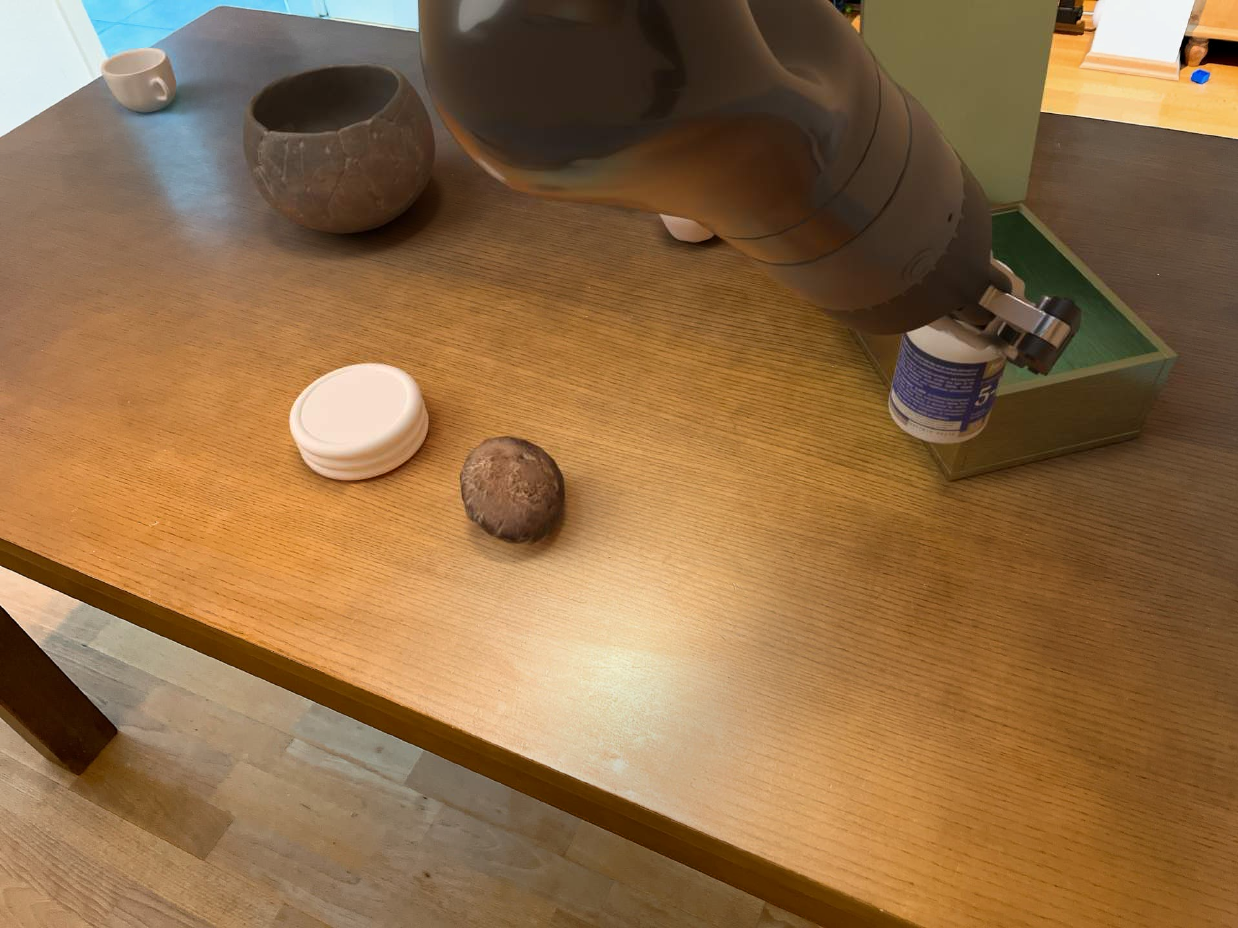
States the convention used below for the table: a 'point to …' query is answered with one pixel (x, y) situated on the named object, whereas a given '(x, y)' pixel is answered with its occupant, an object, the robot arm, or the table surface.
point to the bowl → (339, 146)
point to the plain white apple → (686, 229)
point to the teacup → (141, 79)
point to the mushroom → (512, 490)
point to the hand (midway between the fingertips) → (977, 321)
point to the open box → (1079, 381)
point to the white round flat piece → (359, 421)
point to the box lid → (972, 76)
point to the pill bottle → (944, 386)
